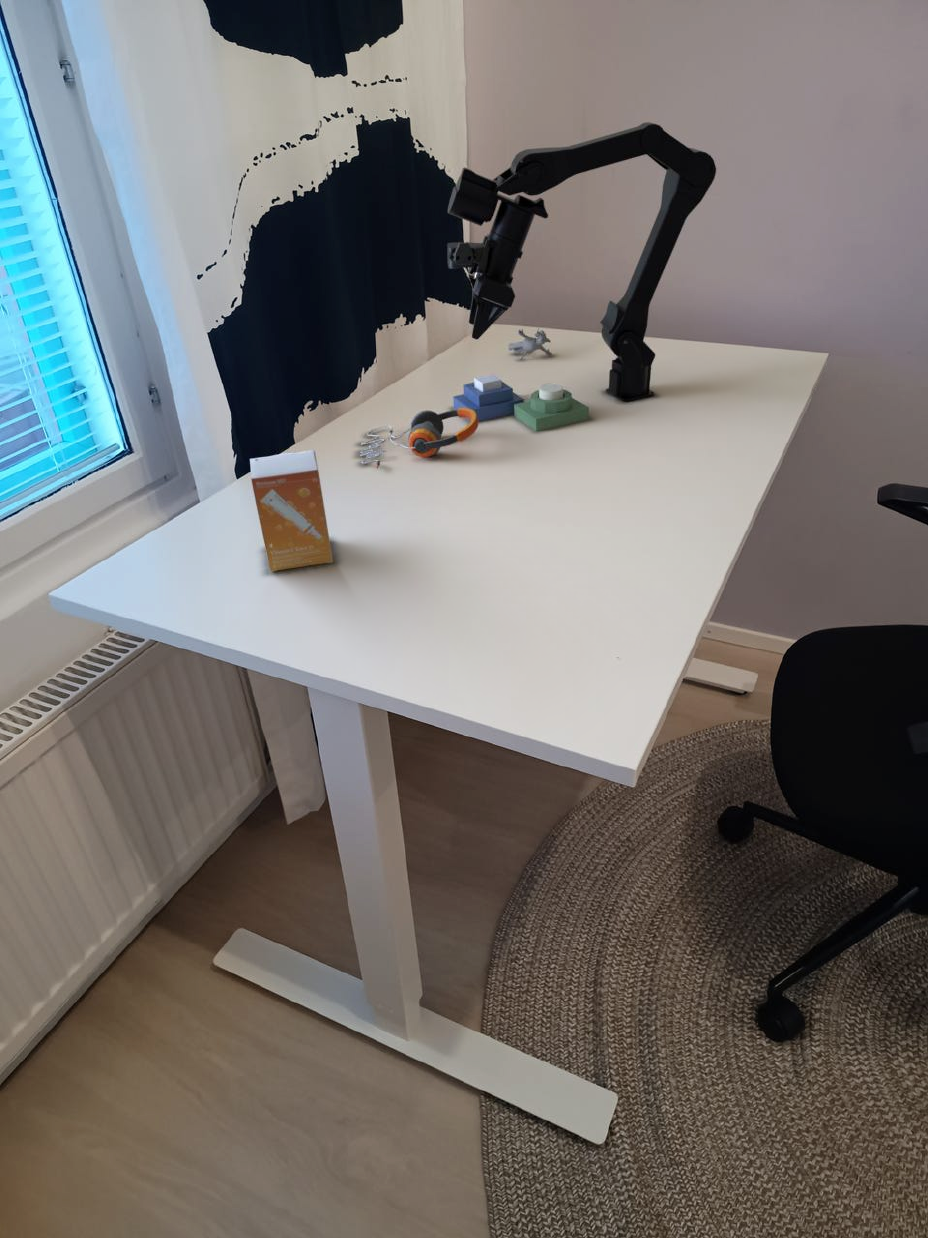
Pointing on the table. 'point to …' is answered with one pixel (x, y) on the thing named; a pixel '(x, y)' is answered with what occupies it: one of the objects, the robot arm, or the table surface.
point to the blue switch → (488, 401)
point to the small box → (291, 510)
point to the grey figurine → (530, 343)
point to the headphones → (427, 433)
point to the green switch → (550, 411)
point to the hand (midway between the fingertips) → (472, 330)
